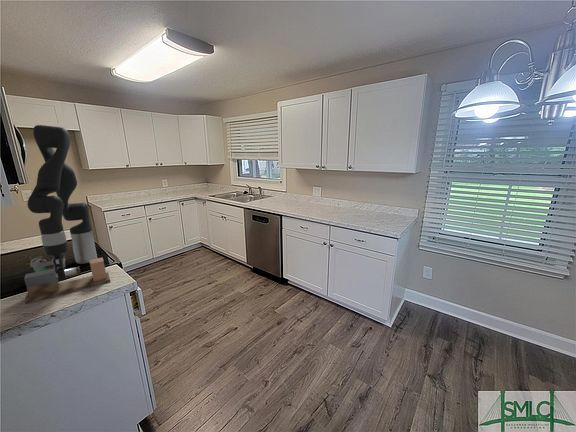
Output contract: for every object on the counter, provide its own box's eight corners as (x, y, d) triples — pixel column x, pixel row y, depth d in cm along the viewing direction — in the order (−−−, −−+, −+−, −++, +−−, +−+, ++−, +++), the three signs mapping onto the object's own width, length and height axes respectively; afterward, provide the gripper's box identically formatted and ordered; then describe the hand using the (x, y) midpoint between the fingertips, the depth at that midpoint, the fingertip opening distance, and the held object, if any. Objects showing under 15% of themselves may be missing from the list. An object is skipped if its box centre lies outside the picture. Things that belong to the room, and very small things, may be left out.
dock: (25, 303, 98) (22, 291, 97) (29, 293, 106) (25, 281, 104) (110, 281, 116) (108, 270, 114) (108, 274, 123) (106, 263, 122)
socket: (93, 281, 113) (90, 263, 111) (93, 277, 117) (89, 260, 115) (106, 278, 117) (103, 261, 114) (105, 274, 121) (102, 257, 118)
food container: (29, 279, 118) (24, 259, 115) (46, 273, 123) (41, 255, 121) (40, 285, 112) (35, 265, 110) (57, 279, 118) (53, 260, 115)
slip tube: (26, 286, 100) (25, 279, 99) (27, 283, 102) (26, 276, 101) (80, 273, 111) (79, 267, 110) (80, 271, 113) (79, 265, 112)
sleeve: (26, 287, 99) (24, 278, 98) (28, 283, 103) (25, 274, 102) (56, 280, 105) (54, 271, 104) (57, 276, 109) (55, 268, 108)
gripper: (66, 244, 101) (74, 280, 105) (67, 236, 112) (74, 268, 115) (40, 248, 96) (50, 285, 100) (44, 239, 107) (52, 273, 111)
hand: (63, 276), depth 108 cm, fingers open, 8 cm apart
